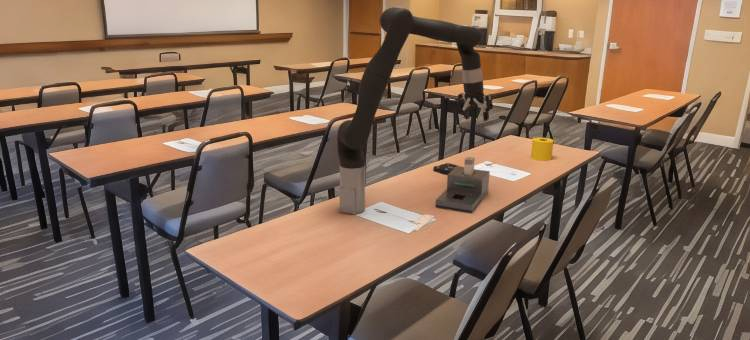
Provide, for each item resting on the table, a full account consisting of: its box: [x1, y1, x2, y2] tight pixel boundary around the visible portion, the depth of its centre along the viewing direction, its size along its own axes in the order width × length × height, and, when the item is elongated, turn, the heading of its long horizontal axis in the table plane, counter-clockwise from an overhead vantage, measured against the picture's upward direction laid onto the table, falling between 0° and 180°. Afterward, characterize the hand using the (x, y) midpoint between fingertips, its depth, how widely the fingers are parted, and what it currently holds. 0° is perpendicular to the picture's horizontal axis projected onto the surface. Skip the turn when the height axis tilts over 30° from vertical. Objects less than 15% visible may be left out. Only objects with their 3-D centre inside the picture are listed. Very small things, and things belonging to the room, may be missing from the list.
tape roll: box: [530, 137, 554, 162], centre depth 273 cm, size 10×10×9 cm
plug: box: [463, 156, 476, 175], centre depth 218 cm, size 4×3×8 cm
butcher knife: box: [412, 213, 436, 232], centre depth 191 cm, size 5×15×1 cm, turn 150°
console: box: [435, 166, 491, 214], centre depth 214 cm, size 26×14×9 cm, turn 156°
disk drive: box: [432, 162, 464, 176], centre depth 249 cm, size 10×3×15 cm
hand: (476, 119), depth 216 cm, fingers open, 8 cm apart
